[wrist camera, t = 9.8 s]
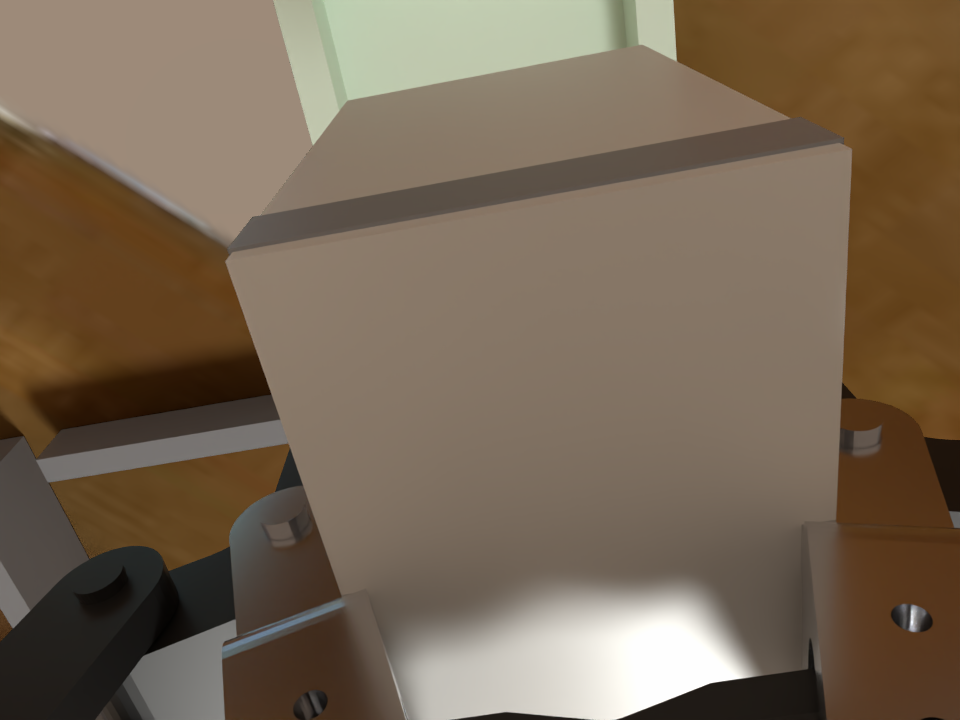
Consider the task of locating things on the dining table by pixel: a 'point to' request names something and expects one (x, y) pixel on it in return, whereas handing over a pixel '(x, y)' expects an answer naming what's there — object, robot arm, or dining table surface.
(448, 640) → the cream rectangular block
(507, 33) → the tray
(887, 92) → the dining table surface
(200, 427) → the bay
